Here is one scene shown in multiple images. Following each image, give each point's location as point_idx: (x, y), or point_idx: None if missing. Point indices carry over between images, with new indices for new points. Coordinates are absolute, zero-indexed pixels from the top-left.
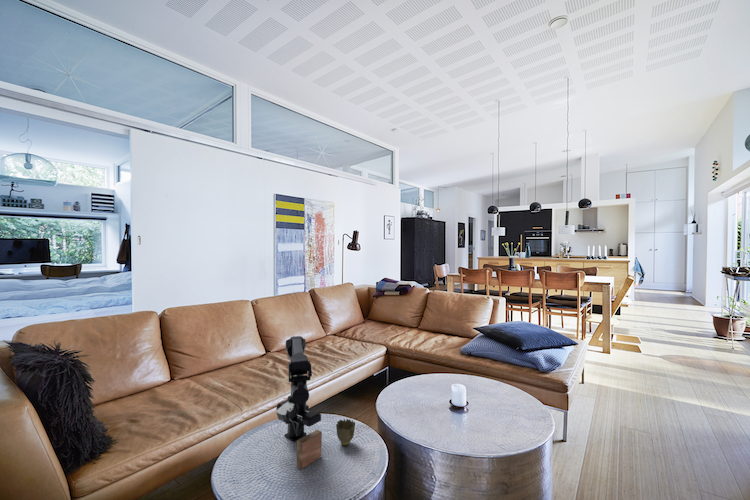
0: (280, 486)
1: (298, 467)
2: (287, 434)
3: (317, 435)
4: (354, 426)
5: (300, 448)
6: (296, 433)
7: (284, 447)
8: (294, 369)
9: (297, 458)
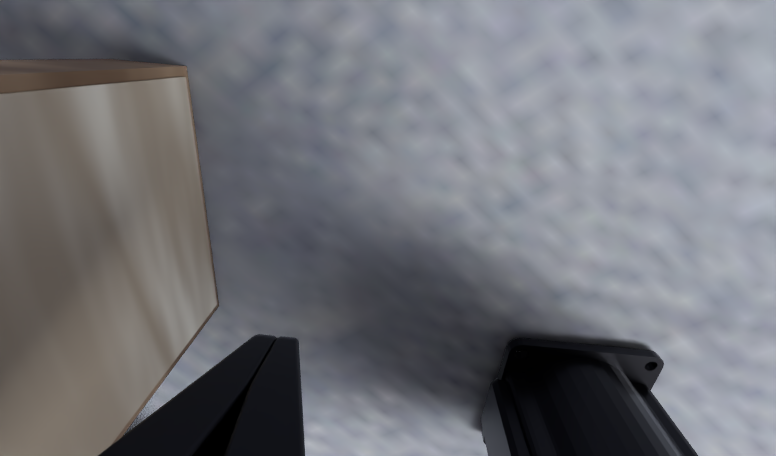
0: None
1: (149, 63)
2: (636, 375)
3: None
4: None
5: None
6: (252, 366)
7: (538, 236)
8: None
9: (100, 66)
